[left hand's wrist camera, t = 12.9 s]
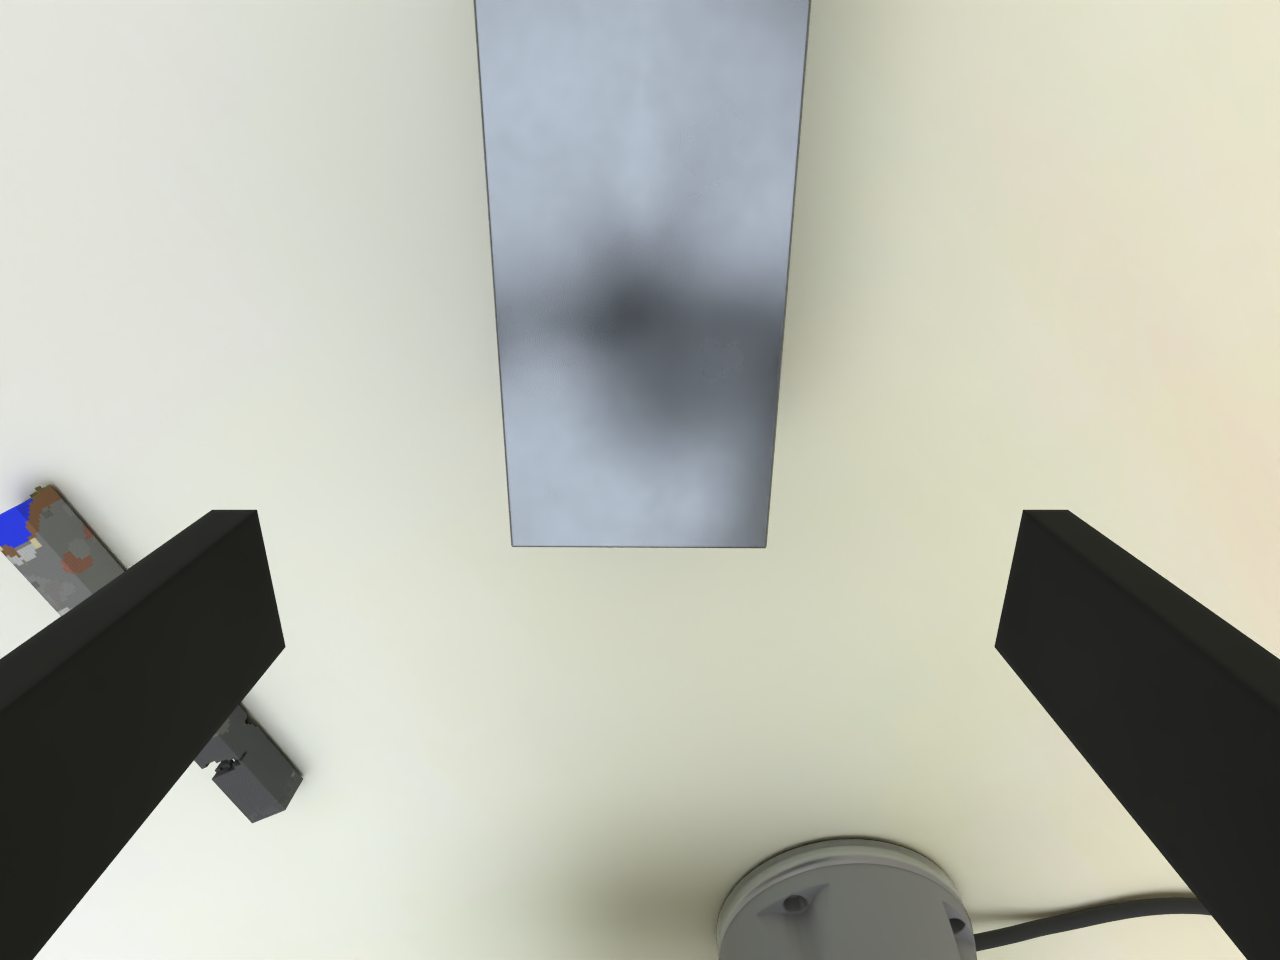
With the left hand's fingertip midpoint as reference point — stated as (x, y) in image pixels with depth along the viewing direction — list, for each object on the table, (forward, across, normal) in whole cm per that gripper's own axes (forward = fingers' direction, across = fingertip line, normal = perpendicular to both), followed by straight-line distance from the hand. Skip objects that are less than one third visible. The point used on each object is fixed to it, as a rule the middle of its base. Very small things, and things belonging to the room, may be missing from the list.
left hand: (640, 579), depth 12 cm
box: (+20, 0, -9) cm, 22 cm away
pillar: (+20, +24, +15) cm, 35 cm away
